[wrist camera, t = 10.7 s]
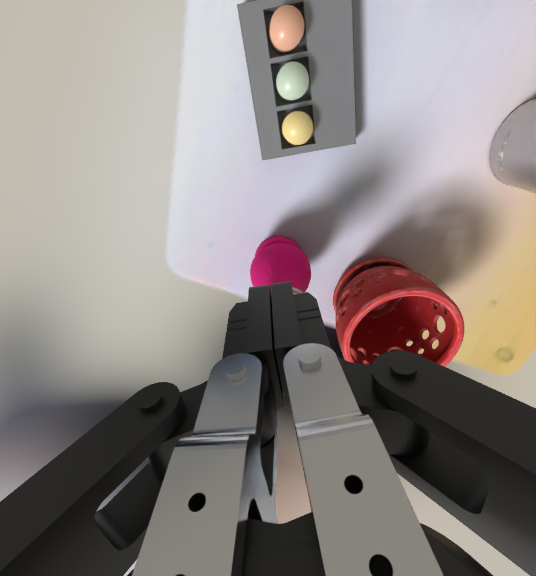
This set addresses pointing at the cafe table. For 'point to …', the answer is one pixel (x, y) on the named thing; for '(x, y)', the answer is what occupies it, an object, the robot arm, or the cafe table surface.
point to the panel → (319, 64)
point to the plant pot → (393, 313)
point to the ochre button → (297, 127)
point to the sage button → (292, 81)
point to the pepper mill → (281, 264)
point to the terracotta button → (286, 29)
